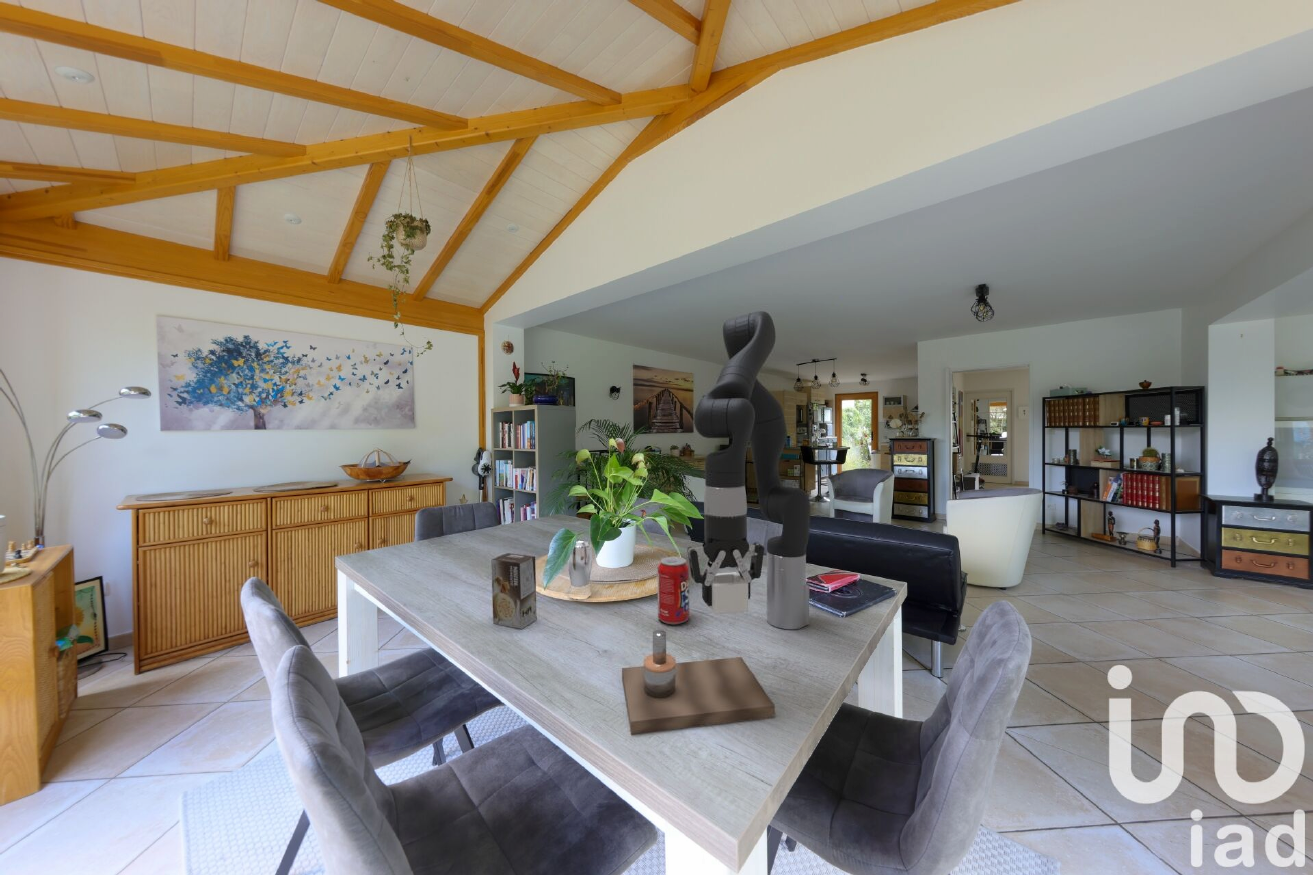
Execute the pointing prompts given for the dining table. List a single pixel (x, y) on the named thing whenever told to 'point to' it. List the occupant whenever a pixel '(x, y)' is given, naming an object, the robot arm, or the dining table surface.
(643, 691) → the pipe stand
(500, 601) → the coffee box
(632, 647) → the dining table surface
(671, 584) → the soda can
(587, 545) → the beer glass
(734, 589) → the collar
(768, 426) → the robot arm
